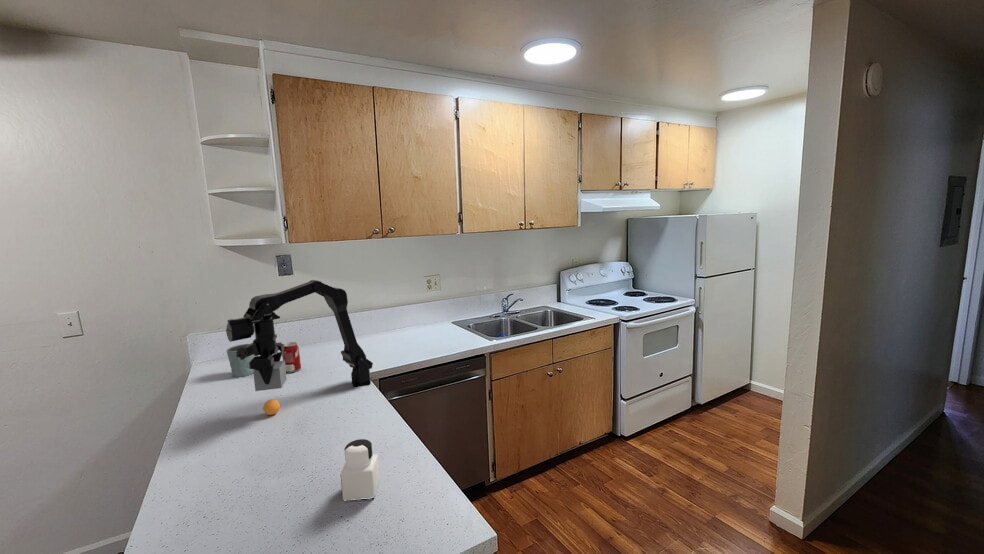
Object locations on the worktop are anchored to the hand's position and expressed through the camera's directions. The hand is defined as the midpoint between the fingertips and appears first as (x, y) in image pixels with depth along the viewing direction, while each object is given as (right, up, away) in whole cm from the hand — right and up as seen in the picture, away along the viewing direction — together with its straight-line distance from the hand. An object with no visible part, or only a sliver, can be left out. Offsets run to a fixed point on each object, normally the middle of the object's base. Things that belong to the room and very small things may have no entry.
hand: (270, 379), depth 140 cm
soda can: (-13, -7, +42) cm, 45 cm away
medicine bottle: (+43, -17, -41) cm, 62 cm away
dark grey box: (0, -2, 0) cm, 2 cm away
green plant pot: (-33, -8, +40) cm, 53 cm away
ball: (0, -9, +1) cm, 10 cm away
